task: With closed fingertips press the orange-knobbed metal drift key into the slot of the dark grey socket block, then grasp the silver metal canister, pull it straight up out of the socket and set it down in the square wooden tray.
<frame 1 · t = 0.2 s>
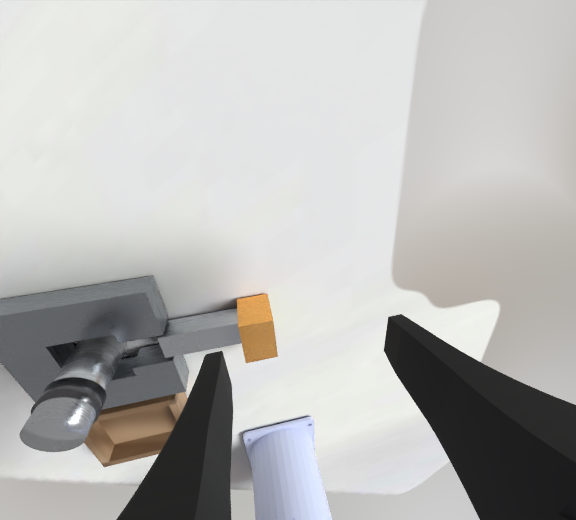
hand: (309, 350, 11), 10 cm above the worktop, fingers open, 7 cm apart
socket: (105, 341, 21), on the worktop
drift key: (218, 334, 20), point 2 cm above the worktop, slide at 0.0 cm
square wooden tray: (144, 411, 25), on the worktop
silver metal canister: (105, 341, 21), resting in socket
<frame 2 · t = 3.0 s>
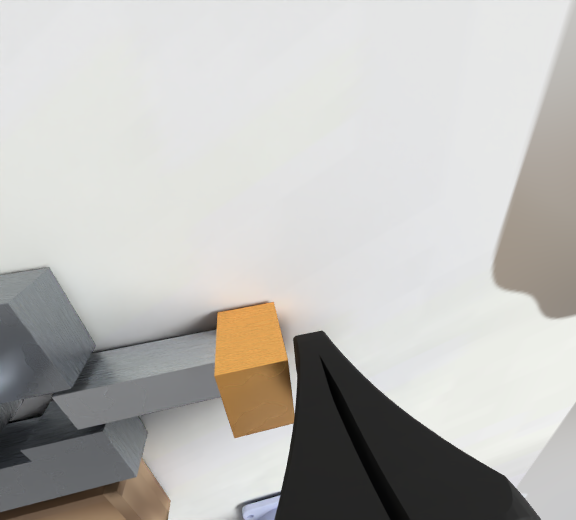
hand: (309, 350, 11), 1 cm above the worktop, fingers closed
drift key: (182, 381, 11), point 2 cm above the worktop, slide at 0.3 cm, touching gripper
square wooden tray: (79, 493, 15), on the worktop
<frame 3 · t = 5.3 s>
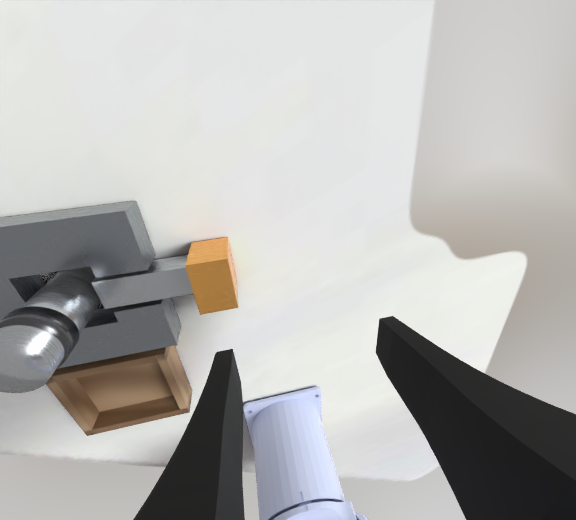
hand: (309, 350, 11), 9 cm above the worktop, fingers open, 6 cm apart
socket: (83, 284, 18), on the worktop
drift key: (168, 282, 17), point 2 cm above the worktop, slide at 2.8 cm
square wooden tray: (132, 374, 22), on the worktop
silver metal canister: (83, 283, 18), resting in socket
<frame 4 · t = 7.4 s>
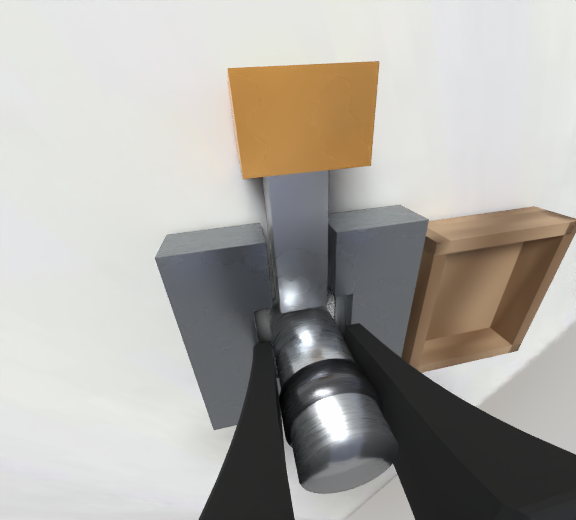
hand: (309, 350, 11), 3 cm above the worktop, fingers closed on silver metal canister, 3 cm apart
socket: (296, 311, 14), on the worktop
drift key: (298, 213, 10), point 2 cm above the worktop, slide at 2.8 cm
square wooden tray: (453, 283, 15), on the worktop
silver metal canister: (296, 311, 14), resting in socket, touching gripper
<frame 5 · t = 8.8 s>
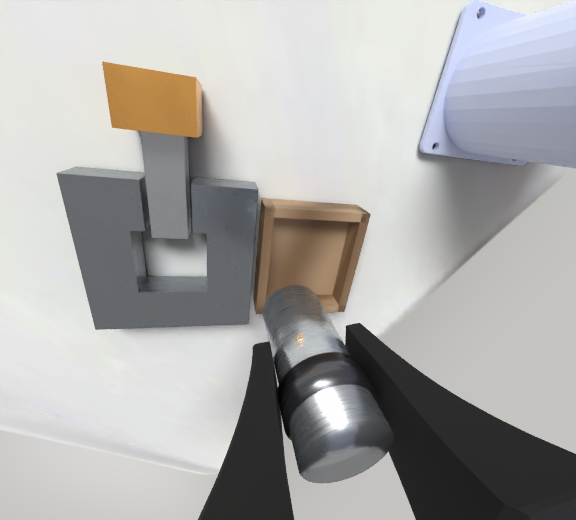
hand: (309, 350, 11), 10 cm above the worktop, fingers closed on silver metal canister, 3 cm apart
socket: (176, 250, 18), on the worktop
drift key: (165, 165, 14), point 2 cm above the worktop, slide at 2.8 cm
square wooden tray: (302, 253, 21), on the worktop
silver metal canister: (291, 309, 14), point 7 cm above the worktop, touching gripper
when the fingers open (5 cm above the worktop, at t = 10.3 s): silver metal canister drops 1 cm, resting on square wooden tray.
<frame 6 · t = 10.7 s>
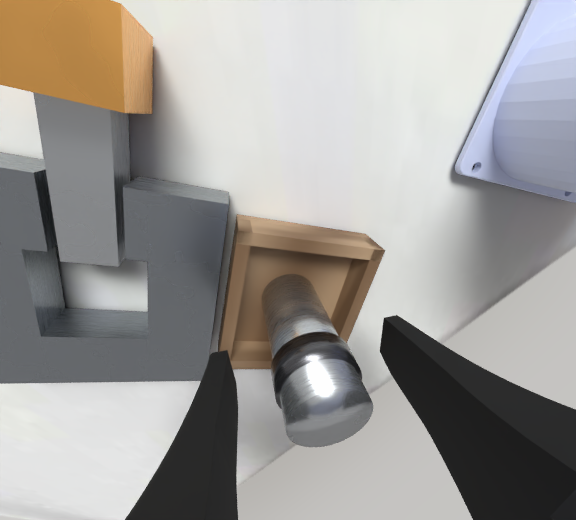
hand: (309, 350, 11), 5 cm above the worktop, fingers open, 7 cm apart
socket: (110, 275, 13), on the worktop
drift key: (83, 155, 9), point 2 cm above the worktop, slide at 2.8 cm
square wooden tray: (288, 289, 15), on the worktop
silver metal canister: (288, 297, 15), point 1 cm above the worktop, touching square wooden tray
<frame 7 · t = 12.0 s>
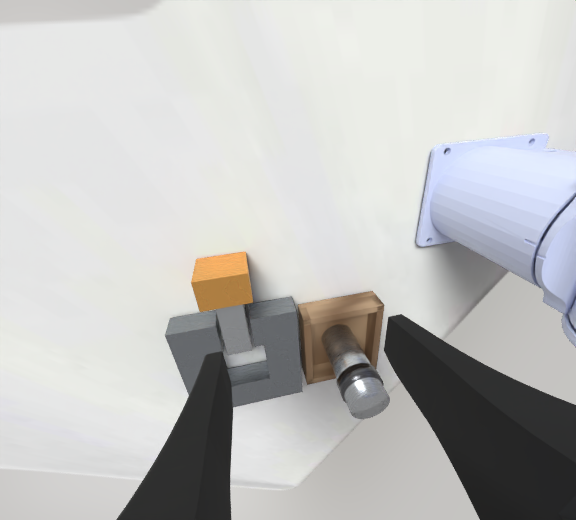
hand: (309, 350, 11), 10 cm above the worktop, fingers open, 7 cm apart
socket: (241, 349, 25), on the worktop
drift key: (231, 311, 21), point 2 cm above the worktop, slide at 2.8 cm
square wooden tray: (335, 331, 26), on the worktop
silver metal canister: (336, 336, 25), point 1 cm above the worktop, touching square wooden tray
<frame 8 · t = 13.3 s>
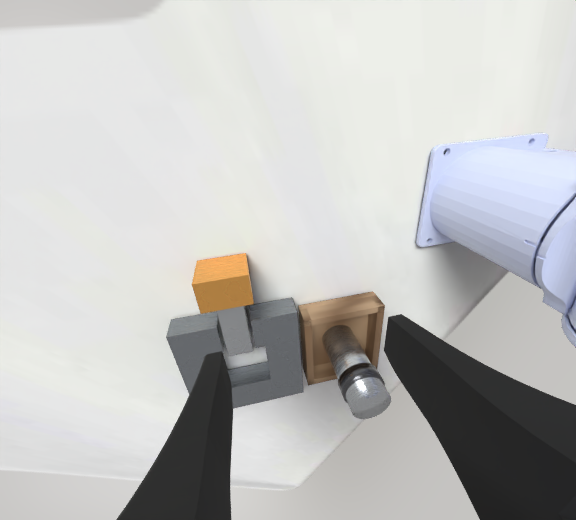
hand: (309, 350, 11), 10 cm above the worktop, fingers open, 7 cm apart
socket: (242, 350, 25), on the worktop
drift key: (231, 313, 21), point 2 cm above the worktop, slide at 2.8 cm
square wooden tray: (336, 331, 26), on the worktop
silver metal canister: (337, 337, 25), point 1 cm above the worktop, touching square wooden tray
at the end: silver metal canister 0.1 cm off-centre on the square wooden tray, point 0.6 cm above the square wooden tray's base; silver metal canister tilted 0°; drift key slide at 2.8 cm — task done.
